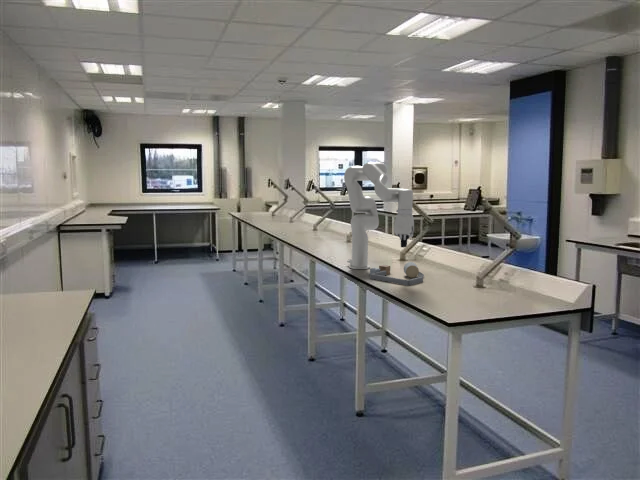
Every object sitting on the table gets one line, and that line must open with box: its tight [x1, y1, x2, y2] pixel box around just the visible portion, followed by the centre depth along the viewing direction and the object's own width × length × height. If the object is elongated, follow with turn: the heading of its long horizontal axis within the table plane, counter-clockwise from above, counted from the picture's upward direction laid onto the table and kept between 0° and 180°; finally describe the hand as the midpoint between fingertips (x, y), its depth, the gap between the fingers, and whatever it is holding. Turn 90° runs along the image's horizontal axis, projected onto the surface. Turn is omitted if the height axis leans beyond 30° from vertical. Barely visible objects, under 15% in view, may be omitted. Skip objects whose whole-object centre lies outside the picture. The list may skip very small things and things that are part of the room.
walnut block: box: [378, 264, 391, 275], centre depth 288 cm, size 4×4×4 cm
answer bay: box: [369, 271, 424, 286], centre depth 270 cm, size 24×14×2 cm, turn 47°
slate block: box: [369, 267, 380, 275], centre depth 282 cm, size 4×4×4 cm
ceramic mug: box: [403, 261, 425, 279], centre depth 279 cm, size 11×8×8 cm
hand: (403, 247), depth 273 cm, fingers closed
